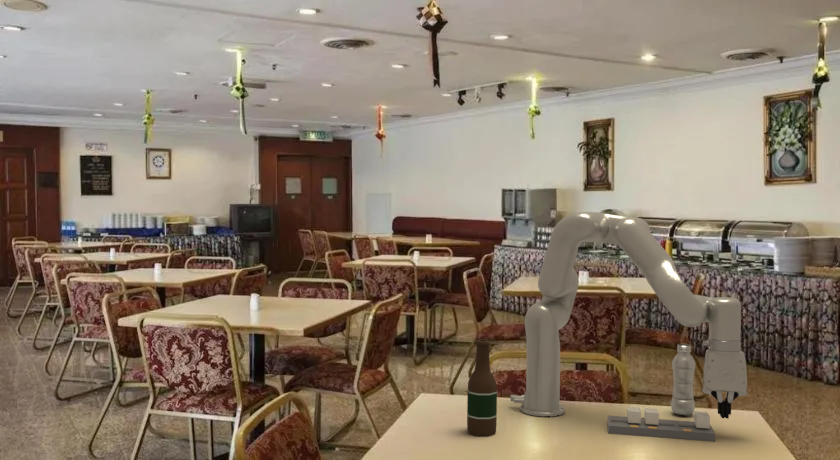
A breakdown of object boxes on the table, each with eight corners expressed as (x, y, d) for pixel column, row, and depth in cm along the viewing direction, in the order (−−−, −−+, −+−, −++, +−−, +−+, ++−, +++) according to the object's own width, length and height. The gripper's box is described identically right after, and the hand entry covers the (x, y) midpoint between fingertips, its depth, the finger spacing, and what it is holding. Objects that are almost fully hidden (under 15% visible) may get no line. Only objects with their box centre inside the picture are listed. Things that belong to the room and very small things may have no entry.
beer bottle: (499, 430, 194) (501, 338, 193) (492, 438, 187) (494, 343, 186) (470, 426, 196) (472, 336, 196) (462, 435, 189) (464, 341, 189)
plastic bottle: (691, 412, 214) (692, 343, 213) (697, 418, 207) (699, 347, 207) (668, 411, 214) (669, 342, 214) (673, 417, 208) (675, 346, 207)
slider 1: (627, 422, 194) (628, 411, 194) (627, 418, 198) (627, 406, 198) (640, 423, 193) (640, 412, 193) (639, 419, 197) (639, 407, 197)
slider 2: (645, 423, 193) (645, 412, 193) (644, 419, 197) (644, 408, 197) (658, 424, 192) (658, 413, 192) (657, 420, 196) (657, 408, 196)
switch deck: (608, 433, 192) (608, 425, 192) (607, 422, 202) (607, 415, 202) (715, 441, 186) (715, 433, 186) (708, 430, 196) (709, 422, 196)
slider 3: (696, 427, 190) (696, 416, 190) (694, 422, 194) (694, 411, 194) (709, 428, 189) (709, 416, 189) (707, 423, 193) (707, 412, 193)
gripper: (695, 347, 188) (695, 419, 188) (759, 349, 185) (758, 422, 185) (691, 342, 195) (691, 411, 196) (752, 344, 192) (752, 415, 192)
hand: (724, 416), depth 190 cm, fingers closed
